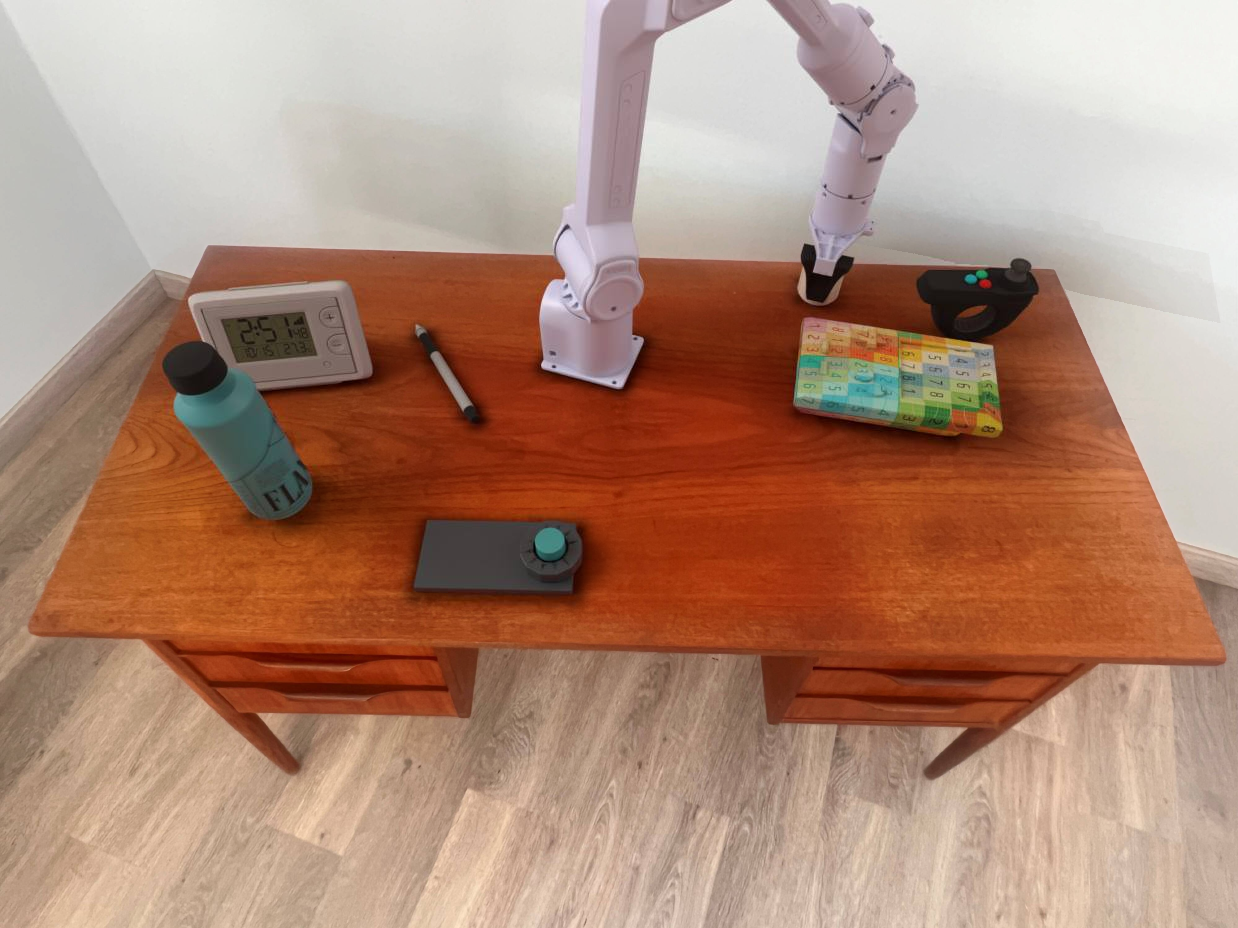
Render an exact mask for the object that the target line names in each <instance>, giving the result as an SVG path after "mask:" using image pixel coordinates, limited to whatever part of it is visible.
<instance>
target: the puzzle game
mask: <svg viewBox="0 0 1238 928" xmlns="http://www.w3.org/2000/svg"><path fill="white" fill-rule="evenodd" d="M994 349H995V348H994V345H993V344H986V343H979V342H973V341H968V340H957V339H953V338H949V337H948V338H947V337H940V336H935V335H929V334H921V333H915V332H908V331H902V330H896V329H889V328H884V327H883V328H882V327H876V326H871V325H865V324H864V325H863V324H857V323H850V322H844V321H838V320H831V319H825V318H817V317H812V316H811V317H803V318H802V322H801V325H800V334H799V343H798V356H797V365H796V376H795V387H794V396H793V405H792V406H793V407H794V408H795V409H796V410H797V411H798V412H799V413H801V414H807V415H815V416H821V417H827V418H832V419H839V420H846V421H851V422H857V423H863V424H869V425H876V426H883V427H888V428H895V429H902V430H908V431H914V432H920V433H926V434H933V435H938V436H946V437H950V436H951V437H956V436H958V435H960V434H968V435H972V436H977V437H982V438H987V439H988V438H990V439H991V438H992V439H993V438H999V437H1000V436H1001V434H1002V433H1003V431H1004V427H1003V419H1002V411H1001V400H1000V393H999V385H998V375H997V366H996V359H995V350H994Z"/></svg>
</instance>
